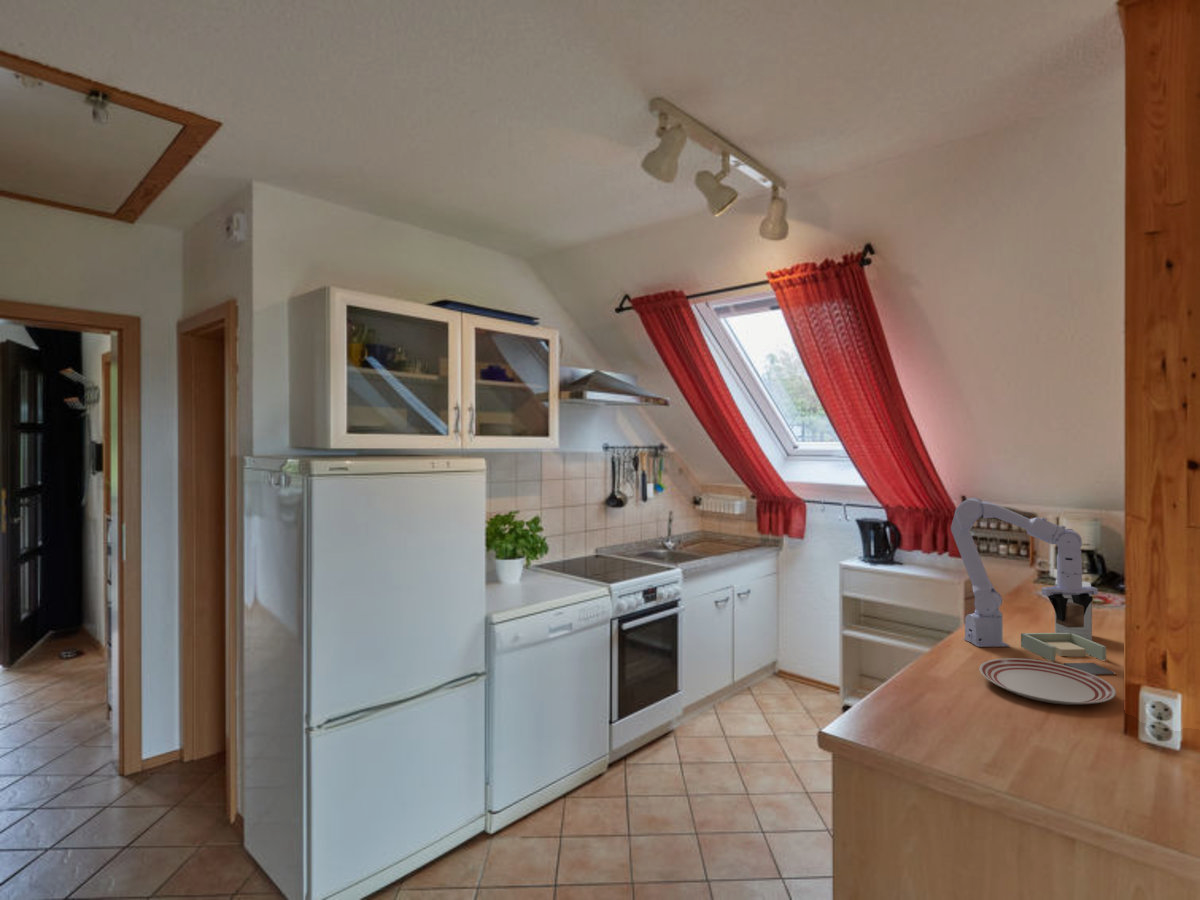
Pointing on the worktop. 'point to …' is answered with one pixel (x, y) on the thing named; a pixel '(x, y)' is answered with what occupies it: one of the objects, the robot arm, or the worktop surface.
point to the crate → (1061, 645)
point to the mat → (1090, 668)
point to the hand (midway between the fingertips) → (1069, 620)
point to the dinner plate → (1047, 681)
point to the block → (1073, 616)
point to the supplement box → (1087, 629)
